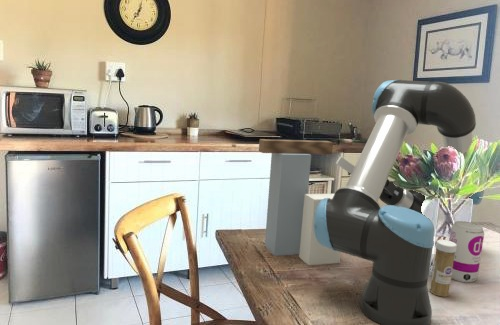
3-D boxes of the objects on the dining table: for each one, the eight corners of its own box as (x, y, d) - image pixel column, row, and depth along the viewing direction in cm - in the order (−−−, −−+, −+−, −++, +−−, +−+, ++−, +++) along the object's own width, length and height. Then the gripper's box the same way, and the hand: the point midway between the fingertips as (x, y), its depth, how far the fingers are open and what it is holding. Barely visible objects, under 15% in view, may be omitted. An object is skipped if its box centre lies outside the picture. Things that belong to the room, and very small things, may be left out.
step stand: (313, 243, 137) (322, 151, 132) (339, 262, 122) (350, 160, 117) (264, 246, 131) (271, 150, 126) (285, 267, 116) (294, 159, 111)
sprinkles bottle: (440, 298, 104) (448, 246, 102) (425, 290, 108) (432, 240, 106) (453, 295, 106) (461, 244, 104) (437, 287, 110) (444, 238, 108)
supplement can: (483, 281, 116) (492, 229, 113) (461, 285, 112) (469, 230, 110) (459, 269, 123) (467, 219, 120) (437, 272, 120) (445, 221, 117)
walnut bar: (326, 152, 130) (327, 140, 129) (331, 154, 126) (333, 142, 126) (258, 151, 123) (259, 139, 122) (262, 153, 119) (263, 140, 119)
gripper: (415, 217, 127) (366, 183, 120) (367, 196, 151) (324, 166, 143) (428, 196, 127) (380, 160, 120) (378, 178, 151) (335, 147, 143)
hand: (349, 163), depth 131 cm, fingers open, 13 cm apart
